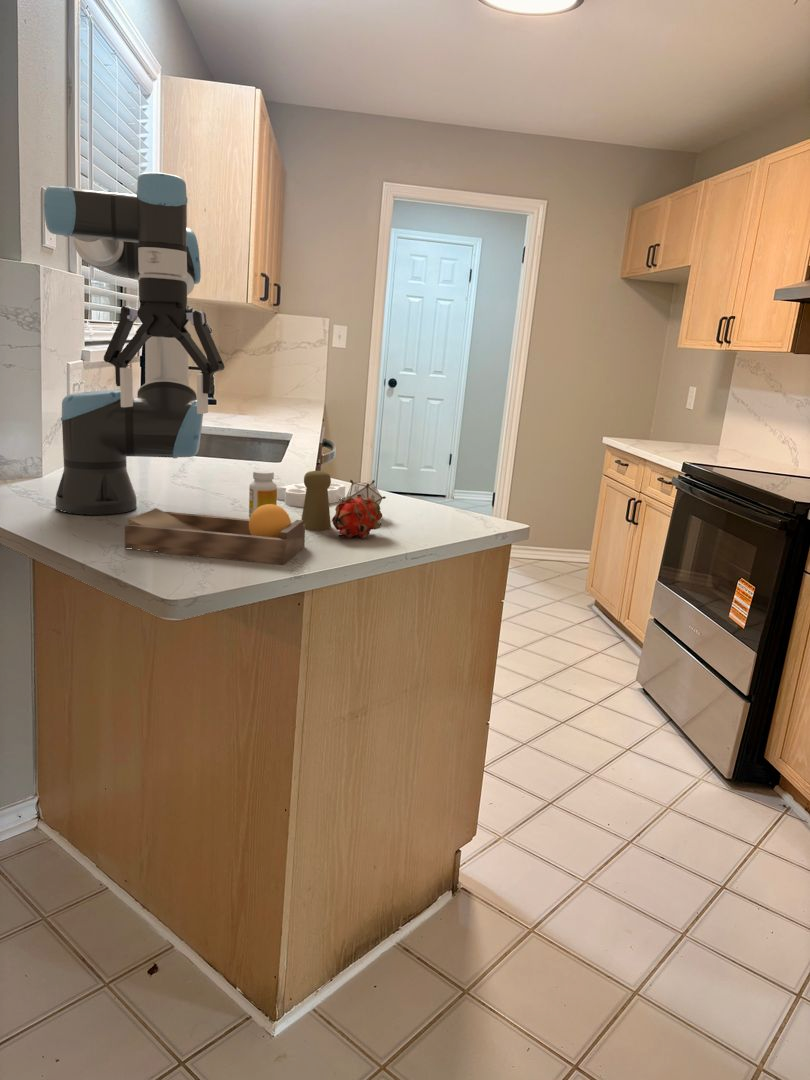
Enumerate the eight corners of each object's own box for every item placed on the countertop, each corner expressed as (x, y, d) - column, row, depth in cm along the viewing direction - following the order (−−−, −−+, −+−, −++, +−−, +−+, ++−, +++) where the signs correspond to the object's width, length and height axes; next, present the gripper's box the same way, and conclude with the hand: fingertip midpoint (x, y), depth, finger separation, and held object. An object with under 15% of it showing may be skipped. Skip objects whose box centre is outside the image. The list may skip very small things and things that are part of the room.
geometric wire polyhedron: (367, 537, 161) (377, 505, 154) (331, 519, 162) (340, 487, 154) (384, 511, 167) (395, 479, 160) (350, 493, 168) (359, 461, 160)
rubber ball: (249, 552, 127) (236, 511, 127) (265, 548, 134) (253, 509, 134) (287, 541, 126) (275, 499, 126) (301, 537, 133) (289, 498, 132)
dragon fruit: (381, 540, 150) (339, 559, 142) (354, 509, 153) (310, 526, 144) (400, 511, 145) (357, 528, 136) (371, 480, 147) (327, 495, 139)
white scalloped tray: (310, 492, 189) (358, 501, 182) (259, 501, 174) (310, 511, 167) (311, 478, 188) (359, 487, 181) (260, 486, 174) (310, 496, 166)
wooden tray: (124, 548, 127) (123, 519, 126) (157, 532, 139) (157, 505, 138) (284, 564, 124) (285, 534, 122) (304, 546, 136) (305, 518, 134)
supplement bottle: (281, 519, 156) (282, 471, 153) (266, 523, 151) (267, 474, 149) (259, 515, 158) (260, 468, 156) (243, 519, 153) (244, 471, 151)
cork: (336, 526, 153) (338, 471, 150) (323, 531, 147) (325, 475, 145) (308, 522, 155) (310, 467, 152) (294, 527, 149) (296, 471, 147)
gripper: (78, 271, 123) (83, 405, 129) (227, 280, 120) (226, 417, 125) (103, 275, 130) (107, 402, 136) (244, 284, 127) (242, 414, 132)
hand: (164, 410), depth 130 cm, fingers open, 13 cm apart
